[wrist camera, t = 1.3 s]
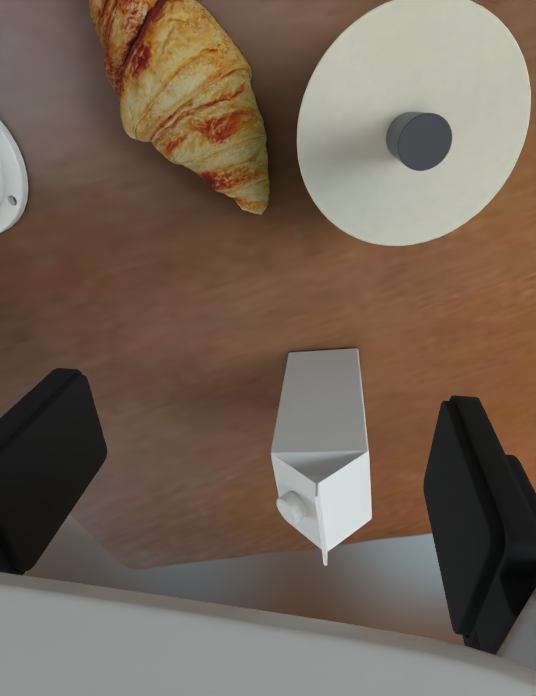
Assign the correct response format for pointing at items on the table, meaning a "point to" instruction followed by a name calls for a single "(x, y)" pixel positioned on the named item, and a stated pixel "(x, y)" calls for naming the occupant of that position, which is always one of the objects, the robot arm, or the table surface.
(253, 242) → the table surface
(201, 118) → the croissant
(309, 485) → the milk carton
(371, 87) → the lid
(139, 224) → the table surface
